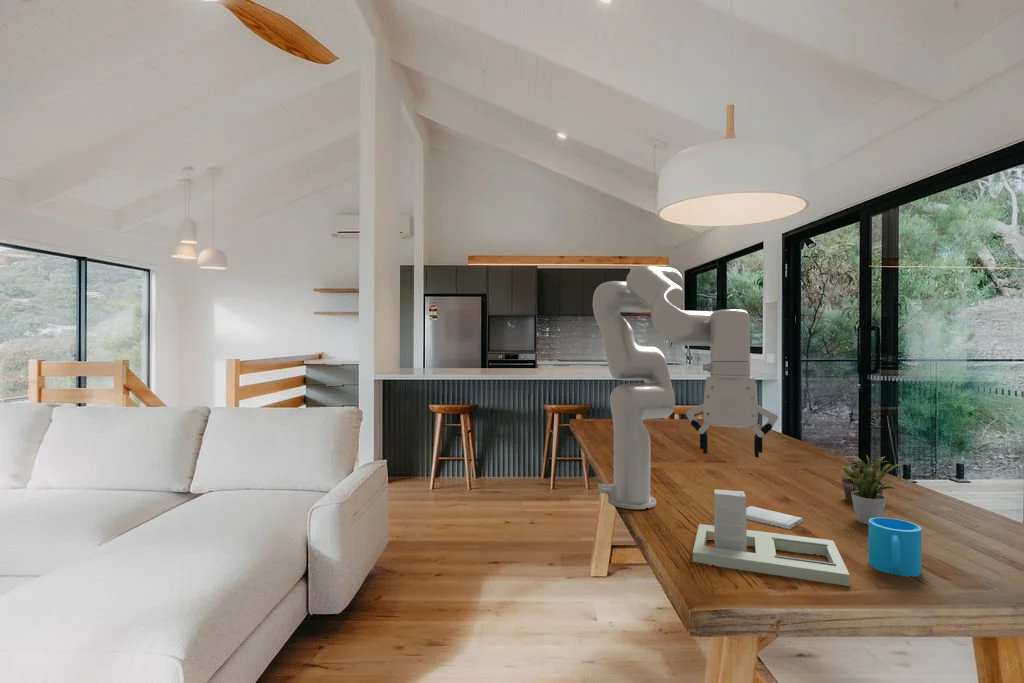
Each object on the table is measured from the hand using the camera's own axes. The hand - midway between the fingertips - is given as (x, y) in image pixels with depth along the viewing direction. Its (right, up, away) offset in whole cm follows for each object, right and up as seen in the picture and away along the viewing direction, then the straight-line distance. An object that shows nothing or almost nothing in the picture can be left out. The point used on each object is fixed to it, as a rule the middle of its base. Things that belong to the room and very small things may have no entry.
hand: (730, 454), depth 110 cm
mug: (+27, -20, -9) cm, 35 cm away
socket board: (+6, -20, -2) cm, 21 cm away
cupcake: (+50, -20, +36) cm, 65 cm away
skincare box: (0, -20, 0) cm, 20 cm away
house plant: (+42, -20, +19) cm, 50 cm away
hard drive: (+18, -21, +21) cm, 34 cm away
